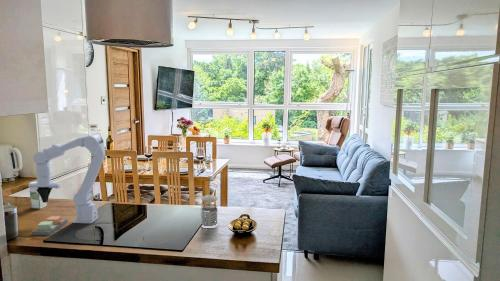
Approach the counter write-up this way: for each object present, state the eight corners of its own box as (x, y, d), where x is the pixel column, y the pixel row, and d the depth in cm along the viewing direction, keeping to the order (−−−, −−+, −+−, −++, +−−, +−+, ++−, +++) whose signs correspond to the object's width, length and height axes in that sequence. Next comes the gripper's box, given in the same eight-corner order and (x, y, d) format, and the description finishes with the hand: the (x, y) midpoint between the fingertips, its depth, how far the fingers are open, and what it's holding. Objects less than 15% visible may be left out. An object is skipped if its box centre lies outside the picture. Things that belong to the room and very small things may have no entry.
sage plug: (53, 229, 166) (52, 221, 165) (50, 232, 162) (49, 224, 161) (41, 229, 165) (41, 221, 164) (38, 233, 161) (37, 224, 160)
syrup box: (47, 205, 198) (45, 180, 195) (40, 209, 192) (38, 183, 190) (37, 205, 198) (36, 180, 196) (30, 208, 192) (28, 182, 190)
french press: (223, 223, 176) (223, 175, 173) (210, 231, 166) (211, 180, 162) (206, 220, 181) (206, 172, 177) (193, 228, 170) (193, 177, 166)
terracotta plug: (61, 224, 172) (61, 216, 171) (57, 227, 168) (56, 219, 167) (51, 224, 172) (50, 216, 171) (46, 227, 168) (46, 219, 167)
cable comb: (67, 222, 174) (67, 217, 174) (49, 235, 158) (49, 230, 158) (51, 222, 174) (51, 217, 174) (31, 234, 159) (31, 229, 158)
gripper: (62, 173, 176) (64, 199, 177) (33, 172, 176) (35, 199, 178) (54, 177, 169) (56, 204, 170) (24, 176, 169) (26, 203, 171)
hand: (45, 201), depth 174 cm, fingers closed
